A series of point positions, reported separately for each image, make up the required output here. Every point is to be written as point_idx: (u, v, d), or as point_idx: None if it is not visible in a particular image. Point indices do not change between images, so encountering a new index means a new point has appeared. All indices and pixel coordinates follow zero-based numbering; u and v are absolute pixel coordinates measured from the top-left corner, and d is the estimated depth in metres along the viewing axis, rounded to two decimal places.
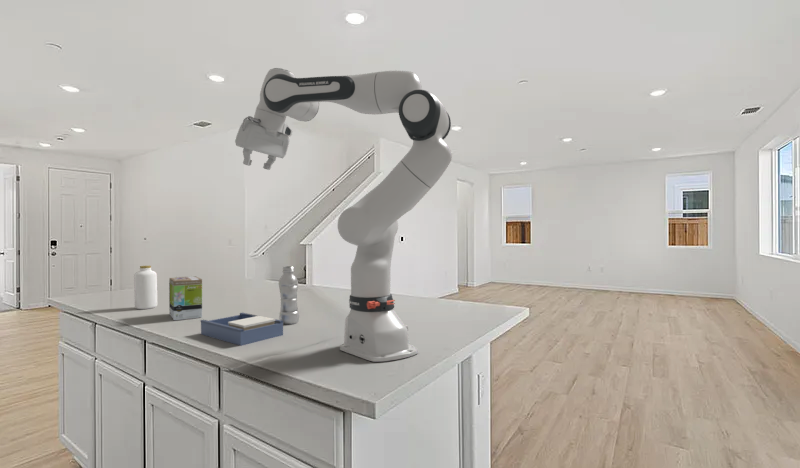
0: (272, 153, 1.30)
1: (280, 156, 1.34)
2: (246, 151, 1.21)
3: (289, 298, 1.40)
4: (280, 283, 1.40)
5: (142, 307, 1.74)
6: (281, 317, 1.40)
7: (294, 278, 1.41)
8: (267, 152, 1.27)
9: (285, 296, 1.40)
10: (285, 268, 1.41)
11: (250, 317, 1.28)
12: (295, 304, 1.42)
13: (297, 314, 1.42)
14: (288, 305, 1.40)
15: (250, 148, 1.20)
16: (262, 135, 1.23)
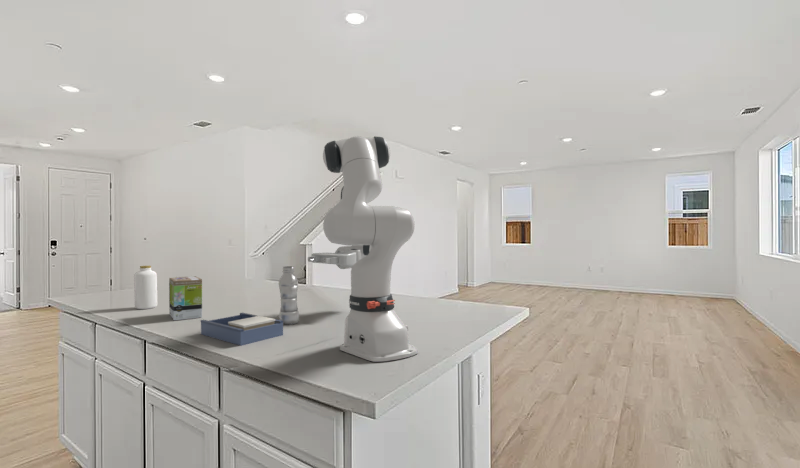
0: (334, 254, 1.53)
1: (341, 255, 1.50)
2: None
3: (289, 298, 1.40)
4: (280, 283, 1.40)
5: (142, 307, 1.74)
6: (281, 317, 1.40)
7: (294, 278, 1.41)
8: (329, 254, 1.55)
9: (285, 296, 1.40)
10: (285, 268, 1.41)
11: (250, 317, 1.28)
12: (295, 304, 1.42)
13: (297, 314, 1.42)
14: (288, 305, 1.40)
15: (315, 253, 1.60)
16: (331, 254, 1.61)
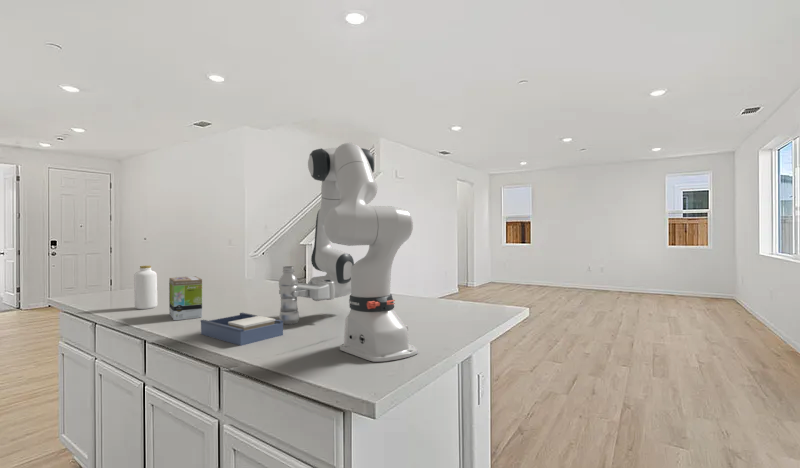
0: (305, 286, 1.44)
1: (312, 288, 1.41)
2: None
3: (289, 298, 1.40)
4: (280, 283, 1.40)
5: (142, 307, 1.74)
6: (281, 317, 1.40)
7: (294, 278, 1.41)
8: (300, 286, 1.45)
9: (285, 296, 1.40)
10: (285, 268, 1.41)
11: (250, 317, 1.28)
12: (295, 304, 1.42)
13: (297, 314, 1.42)
14: (288, 305, 1.40)
15: None
16: (304, 284, 1.51)
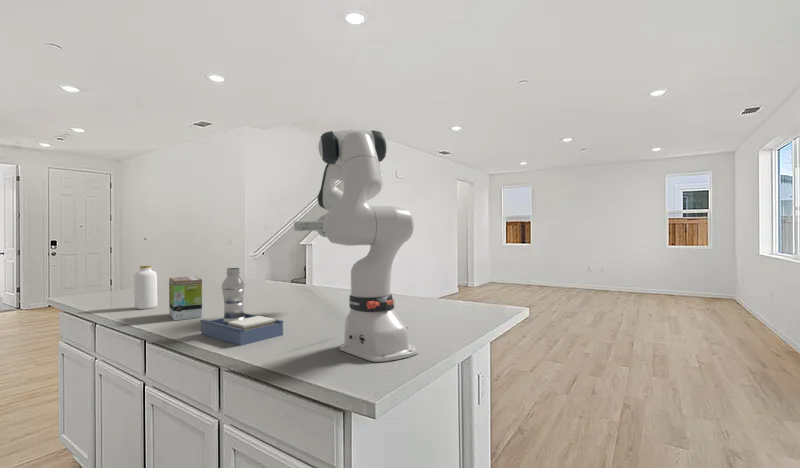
0: None
1: None
2: None
3: (237, 302, 1.28)
4: (226, 287, 1.27)
5: (142, 307, 1.74)
6: (227, 324, 1.27)
7: (241, 280, 1.30)
8: (319, 221, 1.55)
9: (232, 301, 1.27)
10: (231, 270, 1.28)
11: (250, 317, 1.28)
12: (242, 309, 1.30)
13: None
14: (236, 310, 1.28)
15: (300, 221, 1.57)
16: None
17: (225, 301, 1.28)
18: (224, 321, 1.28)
